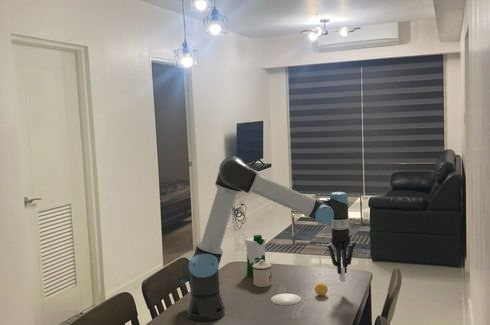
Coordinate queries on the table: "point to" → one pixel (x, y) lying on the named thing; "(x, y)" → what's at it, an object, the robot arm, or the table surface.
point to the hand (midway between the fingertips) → (342, 280)
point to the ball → (321, 289)
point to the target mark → (286, 299)
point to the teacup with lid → (262, 274)
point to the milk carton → (254, 251)
